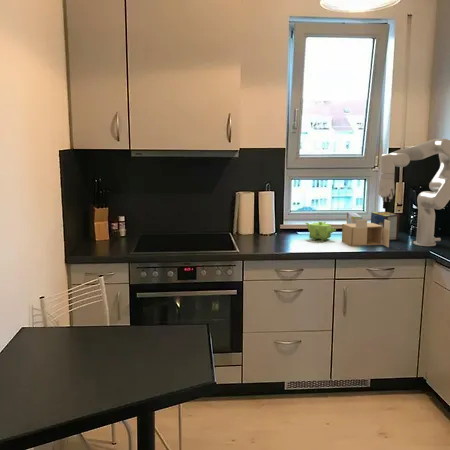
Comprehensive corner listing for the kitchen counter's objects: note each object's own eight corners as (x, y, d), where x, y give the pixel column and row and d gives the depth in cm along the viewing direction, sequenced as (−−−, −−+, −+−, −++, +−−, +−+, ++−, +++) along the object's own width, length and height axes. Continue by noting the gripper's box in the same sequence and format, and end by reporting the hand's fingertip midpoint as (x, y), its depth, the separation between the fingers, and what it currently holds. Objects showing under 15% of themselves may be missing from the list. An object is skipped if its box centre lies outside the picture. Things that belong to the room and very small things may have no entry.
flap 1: (352, 245, 308) (353, 220, 305) (352, 245, 309) (353, 219, 306) (366, 244, 310) (368, 219, 308) (366, 244, 311) (367, 219, 308)
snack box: (361, 241, 323) (362, 216, 321) (352, 241, 323) (353, 216, 321) (353, 234, 344) (355, 211, 342) (345, 234, 344) (346, 211, 342)
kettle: (303, 238, 332) (304, 220, 330) (323, 236, 336) (324, 219, 334) (315, 242, 318) (316, 224, 316) (336, 241, 322) (337, 223, 320)
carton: (371, 240, 325) (372, 222, 323) (381, 244, 313) (382, 226, 312) (341, 241, 320) (342, 223, 319) (350, 245, 309) (351, 227, 307)
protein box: (383, 235, 343) (384, 211, 340) (398, 239, 329) (399, 214, 326) (369, 236, 340) (370, 212, 337) (383, 240, 325) (385, 215, 323)
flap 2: (381, 244, 312) (383, 219, 310) (382, 244, 312) (384, 219, 310) (387, 247, 303) (389, 221, 301) (388, 247, 303) (390, 221, 301)
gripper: (374, 175, 304) (373, 207, 307) (388, 177, 289) (387, 210, 292) (386, 174, 305) (385, 206, 308) (400, 177, 291) (399, 210, 294)
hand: (386, 208), depth 300 cm, fingers closed
